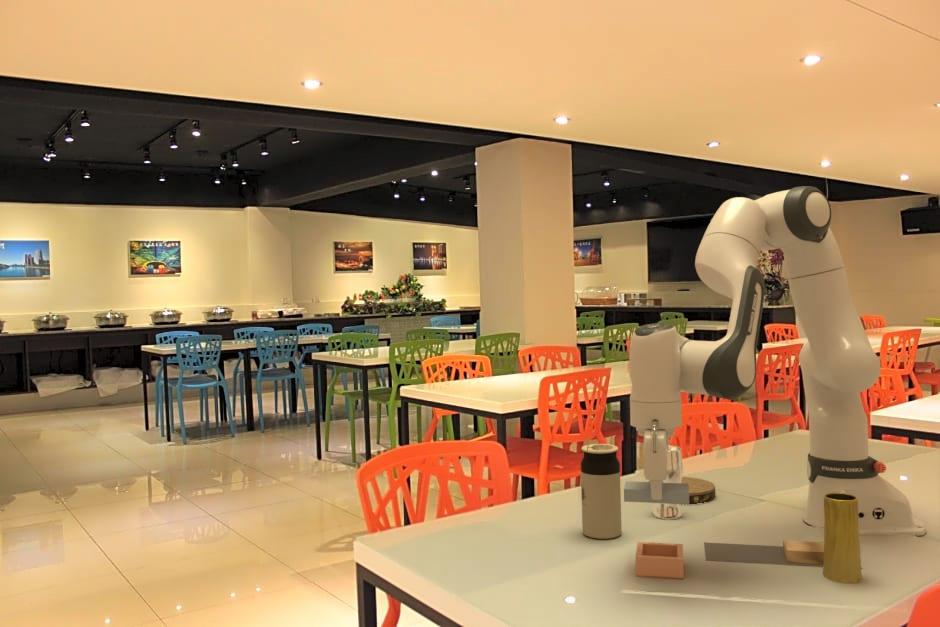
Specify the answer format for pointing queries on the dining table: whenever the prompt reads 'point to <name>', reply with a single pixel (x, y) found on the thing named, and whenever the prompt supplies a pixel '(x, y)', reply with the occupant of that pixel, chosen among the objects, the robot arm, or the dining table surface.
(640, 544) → the orange frame
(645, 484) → the slate board
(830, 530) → the vase
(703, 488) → the wood slice coaster
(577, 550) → the dining table surface
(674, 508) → the beer glass
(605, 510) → the travel mug
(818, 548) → the oak board
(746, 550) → the mat
